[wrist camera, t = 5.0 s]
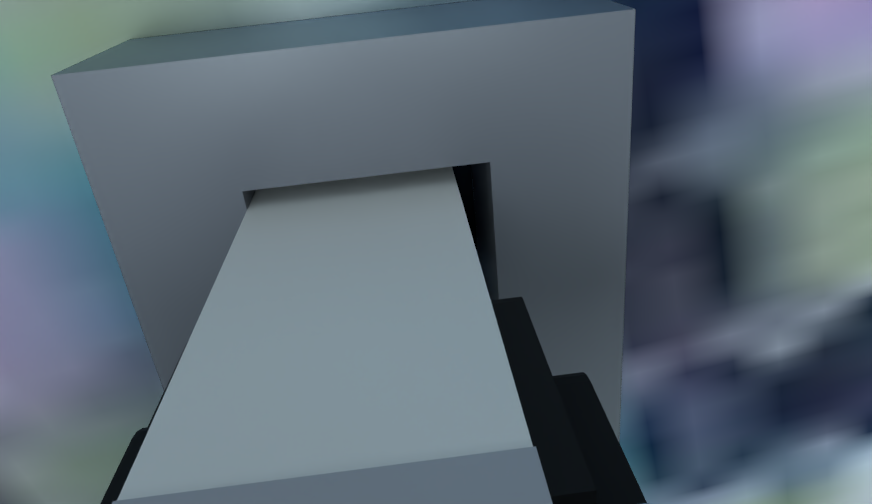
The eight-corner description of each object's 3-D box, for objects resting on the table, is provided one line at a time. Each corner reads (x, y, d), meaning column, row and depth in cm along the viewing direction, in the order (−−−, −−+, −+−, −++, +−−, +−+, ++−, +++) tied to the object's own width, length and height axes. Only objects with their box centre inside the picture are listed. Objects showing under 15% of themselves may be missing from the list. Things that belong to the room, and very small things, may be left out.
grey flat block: (576, 383, 18) (617, 481, 15) (244, 424, 18) (214, 532, 14) (576, -12, 13) (635, 9, 10) (130, 39, 13) (50, 75, 10)
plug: (467, 355, 15) (563, 836, 7) (310, 374, 15) (235, 884, 7) (447, 147, 13) (558, 521, 5) (263, 169, 13) (74, 585, 5)
